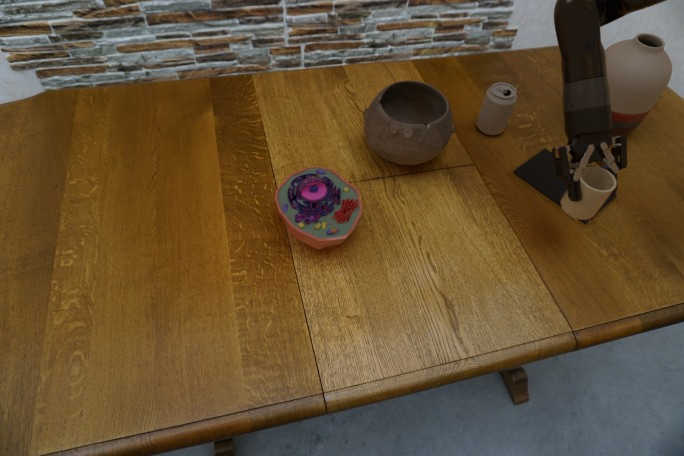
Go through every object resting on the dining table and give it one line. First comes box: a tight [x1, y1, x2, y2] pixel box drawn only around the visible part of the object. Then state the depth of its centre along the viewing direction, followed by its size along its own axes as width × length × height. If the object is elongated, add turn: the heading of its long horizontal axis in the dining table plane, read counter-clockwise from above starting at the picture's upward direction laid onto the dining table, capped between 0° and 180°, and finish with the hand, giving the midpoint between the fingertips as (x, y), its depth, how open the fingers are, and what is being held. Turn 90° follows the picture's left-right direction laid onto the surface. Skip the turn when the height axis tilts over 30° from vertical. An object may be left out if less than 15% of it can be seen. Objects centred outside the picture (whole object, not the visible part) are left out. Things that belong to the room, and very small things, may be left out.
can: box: [475, 81, 518, 136], centre depth 116 cm, size 8×8×12 cm
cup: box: [561, 164, 618, 221], centre depth 86 cm, size 7×7×8 cm
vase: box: [604, 32, 673, 137], centre depth 114 cm, size 17×17×24 cm
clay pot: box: [362, 79, 456, 166], centre depth 109 cm, size 21×21×15 cm
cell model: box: [274, 166, 363, 250], centre depth 95 cm, size 17×20×11 cm
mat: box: [512, 148, 618, 225], centre depth 109 cm, size 20×13×1 cm, turn 40°
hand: (593, 197), depth 85 cm, fingers closed on cup, 7 cm apart
